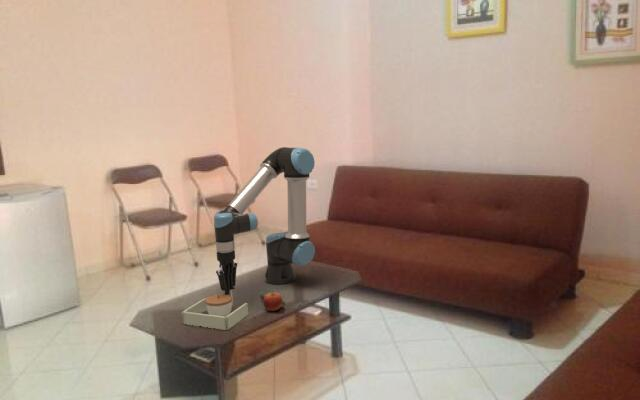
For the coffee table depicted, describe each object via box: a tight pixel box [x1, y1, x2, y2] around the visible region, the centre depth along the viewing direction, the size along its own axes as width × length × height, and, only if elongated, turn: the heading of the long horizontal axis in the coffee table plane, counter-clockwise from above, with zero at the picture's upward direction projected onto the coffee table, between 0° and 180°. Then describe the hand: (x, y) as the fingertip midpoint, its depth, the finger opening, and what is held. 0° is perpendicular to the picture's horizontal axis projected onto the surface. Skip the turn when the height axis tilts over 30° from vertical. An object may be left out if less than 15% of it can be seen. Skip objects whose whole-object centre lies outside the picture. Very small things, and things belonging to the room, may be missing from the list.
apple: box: [262, 291, 284, 312], centre depth 223 cm, size 8×8×8 cm
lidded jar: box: [205, 293, 233, 317], centre depth 218 cm, size 11×11×9 cm
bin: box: [180, 297, 249, 331], centre depth 215 cm, size 16×21×5 cm
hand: (229, 304), depth 226 cm, fingers closed
